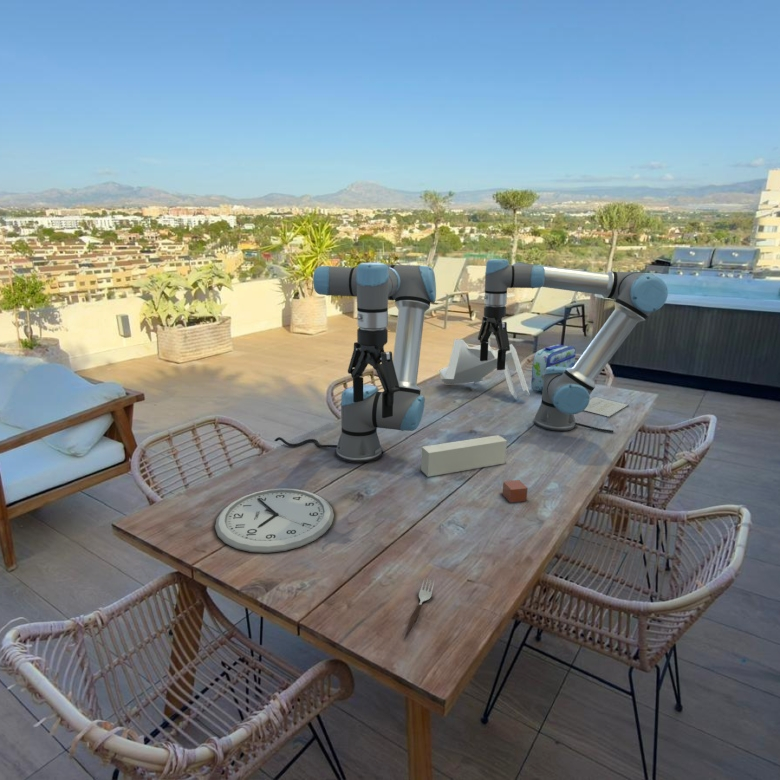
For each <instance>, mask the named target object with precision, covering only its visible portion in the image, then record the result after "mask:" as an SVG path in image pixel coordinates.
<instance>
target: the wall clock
mask: <svg viewBox="0 0 780 780" xmlns="http://www.w3.org/2000/svg"><path fill="white" fill-rule="evenodd" d="M334 518H335V514H334V509H333V507H332V506H331V504H330V503H329V502H328V501H327V499H325V498H323V497H321V496H320V495H318V494H316V493H313V492H311V491H307V490H304V489H296V488H270V489H265V490H260V491H256V492H252V493H250V494H246V495H244V496H242V497H240V498H238V499H236V500H234V501H232V502H231V503H229V504H228V505H227V506H226V507H224V508H223V509H222V510H221V511H220V513H219V515H218V516H217V518H216V520H215V525H214V529H215V532H216V535H217V538H218V539H220V540H221V541H222V542H223V543H224V544H226V545H228V546H230V547H232V548H234V549H236V550H240V551H245V552H248V553H249V552H250V553H261V554H262V553H265V554H270V553H277V552H287V551H290V550H293V549H298V548H301V547H304V546H306V545H308V544H311V543H312V542H314V541H316V540H317V539H319V538H321V537H322V536H323V535H325V534H326V532H327V531H328V530H329V529H330V528H331V526H332V525H333V522H334Z"/></svg>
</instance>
